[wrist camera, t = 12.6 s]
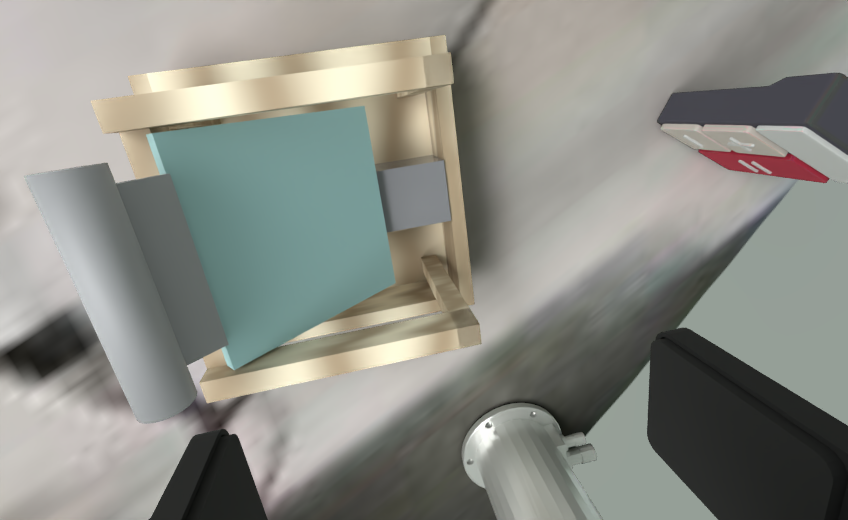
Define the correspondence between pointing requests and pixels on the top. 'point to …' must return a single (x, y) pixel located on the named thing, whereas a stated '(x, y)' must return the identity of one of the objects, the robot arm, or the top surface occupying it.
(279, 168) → the hatch
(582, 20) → the top surface
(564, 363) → the top surface
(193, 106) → the tan crate frame
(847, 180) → the calculator
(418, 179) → the basalt block
